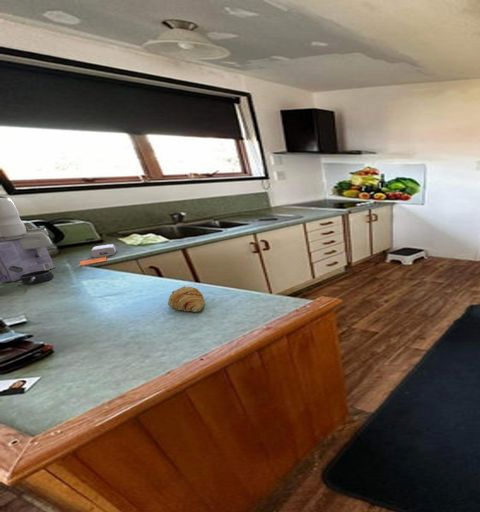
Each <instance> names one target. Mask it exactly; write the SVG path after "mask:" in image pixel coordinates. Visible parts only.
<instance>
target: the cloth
mask: <svg viewBox="0 0 480 512" xmlns="http://www.w3.org/2000/svg"><path fill="white" fill-rule="evenodd" d="M107 257H108V256H103V257H97V258H90V259H84V260H80V262H79V266H78V267H82V266H81V265H84V266H88V265H87V264H89V265H94V264H100V263H105V262H107Z"/></svg>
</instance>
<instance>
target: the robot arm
mask: <svg viewBox="0 0 480 512" xmlns="http://www.w3.org/2000/svg"><path fill="white" fill-rule="evenodd" d="M49 235H50V233H49V231H48V229H46V228H42V227H36V228H27V227H26V225H25V223H24V221H23V219H21V217H20V212H19V209H18V208H17V207H16V204H15V203H14V202H13V201H12V199H11V198H9V197H7V196H4V195H0V242H6V241H12V240H19V241H20V244H21V246H22V247H23V249H24V250H28V249H35V248H36V250H39V251H38V253H37V254H35V256H36V258H38V257H42V256H41V254H40V253H41V251H42V247H46V248H48V247H51V246H52V245H53V241H52V240H51V238H50V237H49Z"/></svg>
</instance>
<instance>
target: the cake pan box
mask: <svg viewBox="0 0 480 512" xmlns="http://www.w3.org/2000/svg"><path fill="white" fill-rule="evenodd" d="M38 251H39V250H36V248H35V249H28V250H24V249H23V247H22V246H21V244H20V241H19V240H12V241H6V242H0V280H1V282H3V283H6V282H7V283H8V282H9V283H13V282H16V281H19V280H21V279H20V276H22V275H24V274H27V273H31V272H36V271H42V270H53V269H56V266H55V264H54V262H53V259H52V257H51V255H50V253H49V251H48V247H42V251H41V253H40V254H41V256H42V257H38V258H36V256H35V254H37V253H38Z"/></svg>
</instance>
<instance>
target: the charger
mask: <svg viewBox="0 0 480 512" xmlns="http://www.w3.org/2000/svg"><path fill="white" fill-rule="evenodd" d="M116 252H117V248H116V245H115V244H113V243H111V244H101V245H97V246H93V247H92V249H91V251H90V253H91V255H92V258H94V259H96V258H101V257H108V256H114V255H116Z"/></svg>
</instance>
